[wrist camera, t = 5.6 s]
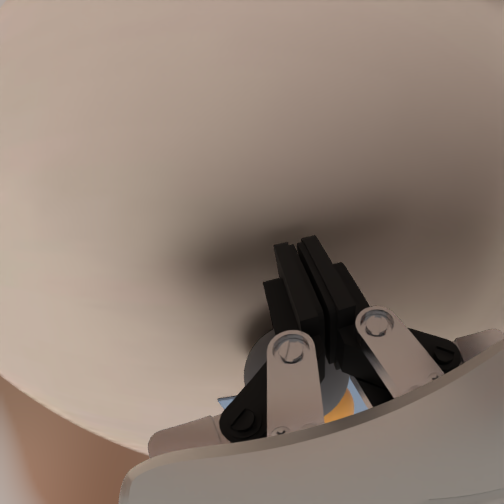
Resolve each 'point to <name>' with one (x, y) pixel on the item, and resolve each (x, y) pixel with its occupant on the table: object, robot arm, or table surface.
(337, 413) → the orange ball
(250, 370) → the gray ball
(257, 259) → the table surface
